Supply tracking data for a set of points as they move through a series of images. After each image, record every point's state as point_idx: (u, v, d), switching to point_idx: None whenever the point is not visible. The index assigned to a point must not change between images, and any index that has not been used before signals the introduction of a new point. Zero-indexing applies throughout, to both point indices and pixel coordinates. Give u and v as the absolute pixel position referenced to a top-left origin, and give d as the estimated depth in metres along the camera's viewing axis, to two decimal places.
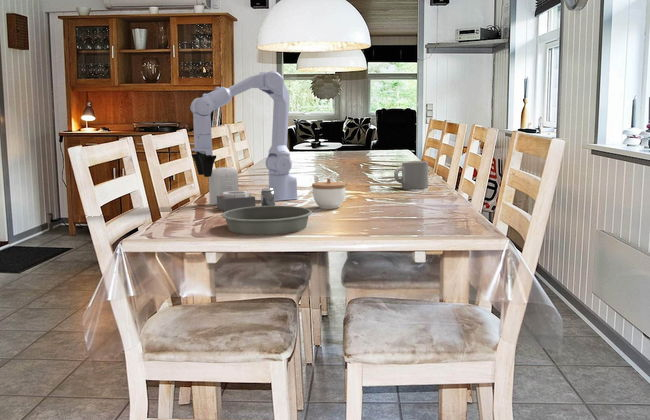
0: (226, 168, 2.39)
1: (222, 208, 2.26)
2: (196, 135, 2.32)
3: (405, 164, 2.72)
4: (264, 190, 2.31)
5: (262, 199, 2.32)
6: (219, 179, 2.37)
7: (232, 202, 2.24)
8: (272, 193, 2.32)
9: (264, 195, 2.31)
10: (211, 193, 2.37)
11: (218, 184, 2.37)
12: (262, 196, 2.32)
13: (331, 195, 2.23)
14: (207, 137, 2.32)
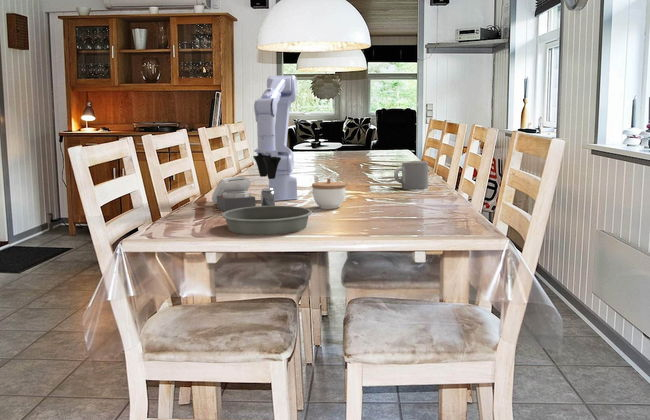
0: (240, 182, 2.31)
1: (222, 208, 2.26)
2: (260, 136, 2.28)
3: (405, 164, 2.72)
4: (264, 190, 2.31)
5: (262, 199, 2.32)
6: (229, 191, 2.32)
7: (232, 202, 2.24)
8: (272, 193, 2.32)
9: (264, 195, 2.31)
10: (216, 195, 2.34)
11: None
12: (262, 196, 2.32)
13: (331, 195, 2.23)
14: (271, 138, 2.28)
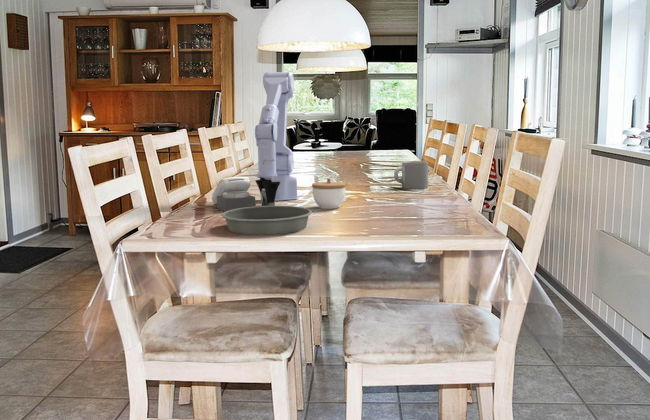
0: (240, 182, 2.31)
1: (222, 208, 2.26)
2: (261, 161, 2.29)
3: (405, 164, 2.72)
4: (264, 190, 2.31)
5: (262, 199, 2.32)
6: (229, 191, 2.32)
7: (232, 202, 2.24)
8: None
9: (264, 195, 2.31)
10: (216, 195, 2.34)
11: None
12: (262, 196, 2.32)
13: (331, 194, 2.23)
14: (272, 163, 2.30)
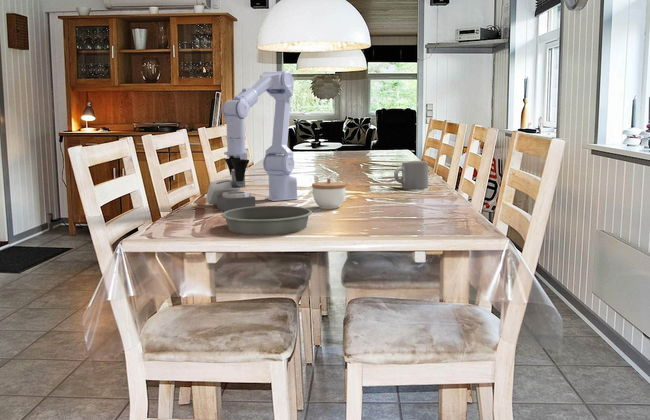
0: (229, 184, 2.30)
1: (222, 208, 2.26)
2: (230, 139, 2.24)
3: (405, 164, 2.72)
4: None
5: (232, 179, 2.27)
6: (219, 193, 2.31)
7: (232, 202, 2.24)
8: None
9: (233, 175, 2.26)
10: (208, 196, 2.35)
11: (217, 195, 2.32)
12: (232, 177, 2.27)
13: (331, 195, 2.23)
14: (241, 141, 2.24)
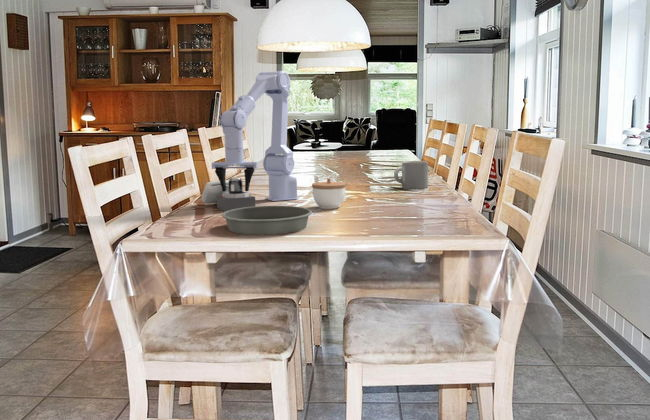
0: None
1: (222, 208, 2.26)
2: (236, 149, 2.24)
3: (405, 164, 2.72)
4: (236, 180, 2.26)
5: (234, 189, 2.26)
6: (214, 194, 2.32)
7: (232, 202, 2.24)
8: None
9: (236, 185, 2.26)
10: (203, 196, 2.36)
11: (211, 196, 2.33)
12: (234, 186, 2.26)
13: (331, 195, 2.23)
14: None
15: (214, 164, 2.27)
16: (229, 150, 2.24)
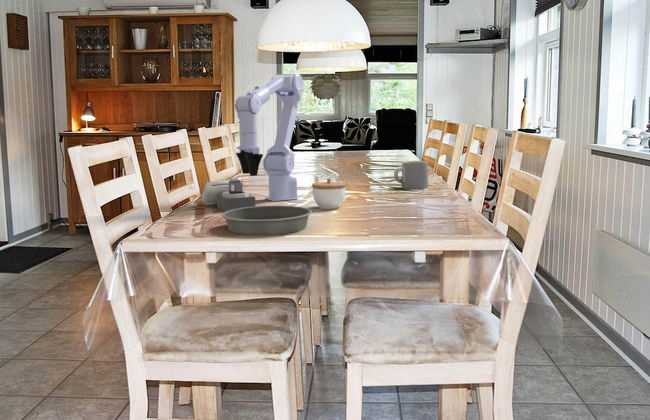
0: (224, 187, 2.30)
1: (222, 208, 2.26)
2: (242, 133, 2.29)
3: (405, 164, 2.72)
4: (236, 180, 2.26)
5: (234, 189, 2.26)
6: (214, 194, 2.32)
7: (232, 202, 2.24)
8: None
9: (236, 185, 2.26)
10: (203, 196, 2.36)
11: (211, 196, 2.33)
12: (234, 186, 2.26)
13: (331, 195, 2.23)
14: (253, 135, 2.29)
15: (239, 147, 2.37)
16: None
